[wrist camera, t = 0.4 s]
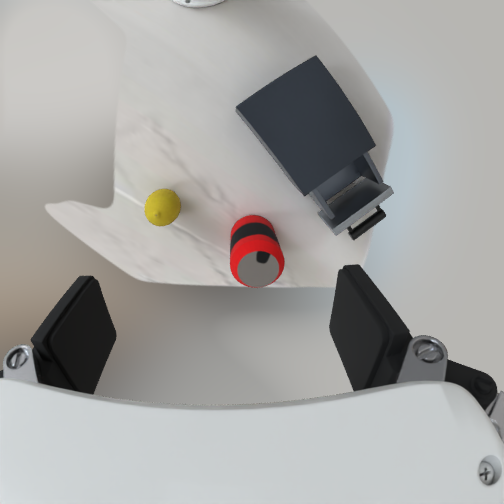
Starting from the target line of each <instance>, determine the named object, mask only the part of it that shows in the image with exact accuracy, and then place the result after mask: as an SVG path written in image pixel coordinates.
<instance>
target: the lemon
mask: <svg viewBox="0 0 504 504" xmlns="http://www.w3.org/2000/svg"><path fill="white" fill-rule="evenodd" d="M180 208H181V203H180V200H179V197H178V196H177V194H176V193H175V192H173V191H171V190H169V189H160V190H157V191H155V192H153V193H152V194H151V195H150V196H149V197H148V199H147V201H146V204H145V215H146V217H147V219H148V220H149V222H151V223H152V224H154V225H156V226H166V225H169V224H170V223H172V222H173V221H174V220H175V219H176V218H177V217H178V215H179V213H180Z"/></svg>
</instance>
